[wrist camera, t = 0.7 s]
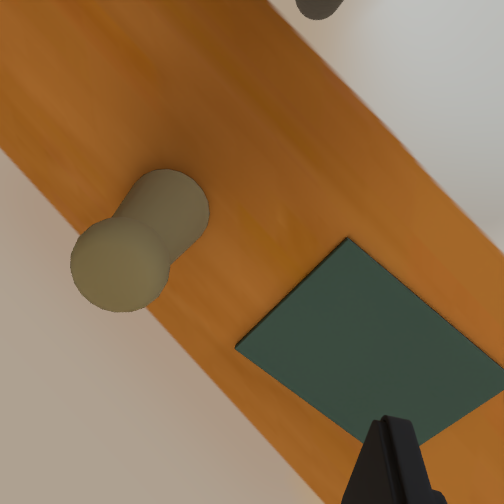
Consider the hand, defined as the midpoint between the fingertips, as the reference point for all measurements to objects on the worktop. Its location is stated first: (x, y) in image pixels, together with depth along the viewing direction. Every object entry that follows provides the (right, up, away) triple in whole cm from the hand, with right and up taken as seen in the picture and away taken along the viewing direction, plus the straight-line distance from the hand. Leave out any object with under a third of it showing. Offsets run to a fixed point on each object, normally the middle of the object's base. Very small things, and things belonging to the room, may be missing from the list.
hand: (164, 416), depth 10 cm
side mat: (+12, -5, +26) cm, 29 cm away
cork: (-4, +7, +22) cm, 24 cm away
